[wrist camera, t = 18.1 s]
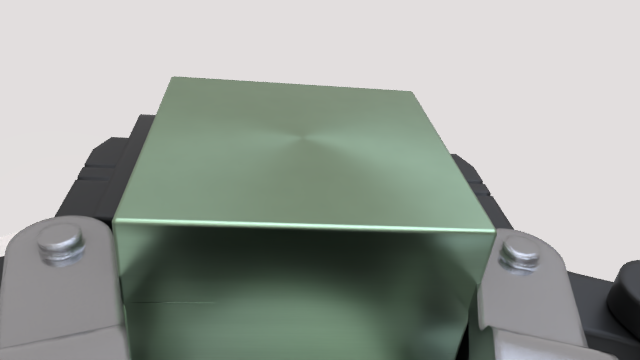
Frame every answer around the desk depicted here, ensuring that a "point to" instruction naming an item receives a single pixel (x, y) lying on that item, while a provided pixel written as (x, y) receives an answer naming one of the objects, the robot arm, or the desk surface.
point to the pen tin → (296, 228)
